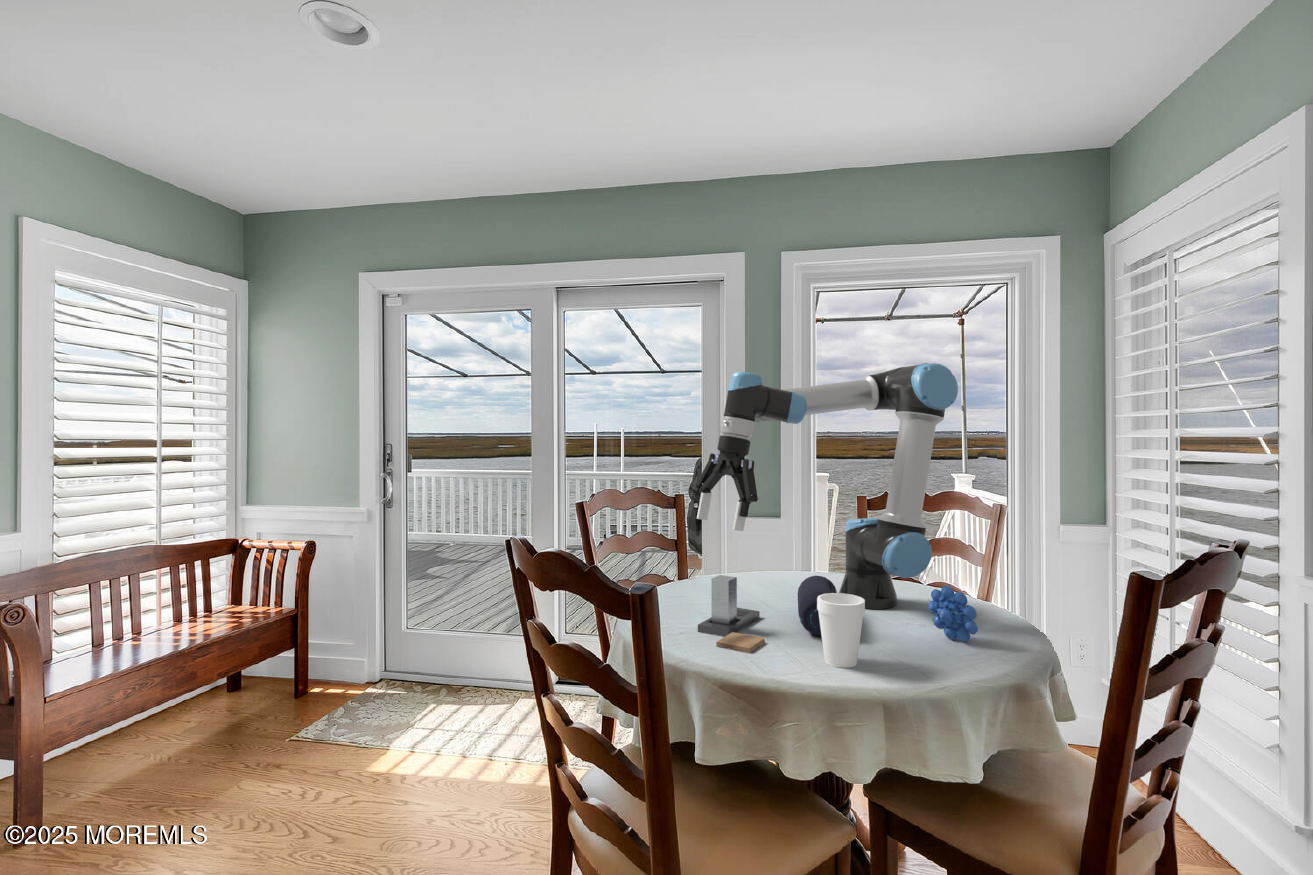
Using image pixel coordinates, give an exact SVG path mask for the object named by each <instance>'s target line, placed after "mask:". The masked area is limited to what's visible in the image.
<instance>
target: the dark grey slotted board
mask: <svg viewBox="0 0 1313 875" xmlns="http://www.w3.org/2000/svg"><path fill="white" fill-rule="evenodd" d="M760 615H761V614H760V610H754V609H747V608H742V607H737V623H735V624H733V625H732V626H726V625H720V624H714V623H712V616H711V617H709V618H708V619H705V620H704V621H701V622H700V623H698V624H697V632H698V633H703V632H706V633H705V634H709V633H711V634H710V635H714V634H716V635H715V636H719V635H722V636H721V637H725V636H727V635H728V634H730V633H732V632H736V633H738V632H739V631H740V629H741V630H743V629H744V628H746V627H747V626H748V625H750V624H751V623H754V622H755V621H757V620H758V619H759V618H760V617H761V616H760ZM743 627H744V628H743Z"/></svg>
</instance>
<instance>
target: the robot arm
mask: <svg viewBox="0 0 1313 875" xmlns="http://www.w3.org/2000/svg"><path fill="white" fill-rule="evenodd" d="M958 386H959V385H958V382H957V378H956V376H955V375H954V374H953V373H952V371H951V370H950V369H949V368H948V367H947V366H945V365H943V364H942V363H936V362H935V363H934V362H933V363H932V362H931V363H928V362H927V363H926V362H925V363H920V364H914V365H909V366H902V367H897V368H893V369H889V370H886V371H883V372H878V373H875V374H868V375H863V377H862V378H861V379H858V380H851V381H844V382H843V381H842V382H833V383H826V384H818V385H811V386H804V387H801V386H800V387H795V388H787V389H779V388H774V387H769V386H765V385H763V377H762V376H761V375H759V374H756V373H752V372H747V371H746V372H745V371H736V372H734V373H732V375H731V377H730V380H729V385H728V388H727V395H726V400H725V407H724V413H723V417H722V422H721V427H720V433H721V434H722V435H721V434H720V436H719V438H718V442H717V450H718V452H719V454H717V453H712V452H711V453H710V454H709V457H708V461H707V463H706V465H705V467H704V469H703V470H702V473H701V474H700V476H699V478H698V479H697V482H696V484H695V489H698V490H699V499H698V509H697V515H696V520H697V519H698V520H704V521H707V520H708V515H709V511H710V505H711V501H712V490H713V489H714V487H715V486H716V485H717V484H718V483H719V481H720V480H721V479H722V478H723V477H724V476H730V477H731V478H732V479H733V482H734V485H735V488H736V491H737V494H738V498H739V500H738V501H737V503H736V508H735V513H734V518H733V519H734V520H733V524H732V530H733V531H738V532H739V531H740V532H743V531H744V529H745V524H746V519H747V518H748V515H749V511H750V510H749V509H750V505H751V503H754V502H755V503H757V502H758V500H759V496H758V492H757V491H758V490H757V482H756V478H755V471H754V470H755V460H753V459H748V458H747V459H746V456H748V455H749V454H750V453H749V452H750V447H751V440H750V439H751V438H753V431H754V426H755V423H758V422H759V423H760V422H783V423H785V424H792V425H797V424H801V422H803V419H804V418H805V416H810V415H819V414H826V413H833V412H841V411H849V410H850V411H851V410H856V409H858V410H859V409H865V410H867V411H876V410H883V411H884V410H888V411H889V410H890V411H895V412H894V414H895V415H896V417H897V418H898V420H899V426H898V433H897V439H896V444H895V445H896V446H895V450H894V458H893V464H892V470H891V475H890V481H889V488H888V494H887V499H886V505H885V506H886V507H885V512H884V513H883V514H882V515H880V516H878V517H873V518H870V517H869V518H865V517H864V518H850V519H848V520H847V521H846V524H845V531H844V534H845V574H844V576H843V580H842V581H841V586H840V587H839V588H840V589H839V591H838V592H839V593H844V594H851V595H855V596H859V597H861V598H863V599H864V600H865V609H871V610H880V609H881V610H883V609H891V608H894V607H896V606H897V605H898V594H897V592H896V590H895V586H894V583H893V580H892V577H898V578H903V579H910V578H915V577H918V576H919V575H921V573H923V572H924V571H925V570H926V569H927V568H928V566H929V565H930V563H931V560H932V556H933V550H932V544H930V543H929V539H928V538H927V537H925V536H926V530H927V526H926V524H925V523H924V522H923V520H922V514H923V508H924V502H925V498H926V497H925V494H926V489H927V483H928V476H929V470H930V465H931V459H932V458H931V457H932V452H933V448H934V446H933V445H934V438H935V434H936V427H937V426H938V425H939V423H941V422H943V421H944V418H945V412H946V409H948V408H949V407H951V406H952V405H953V404H954V403H955V402H956V400H957V398H958V394H959V387H958ZM891 576H892V577H891Z"/></svg>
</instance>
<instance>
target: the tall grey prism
mask: <svg viewBox="0 0 1313 875" xmlns="http://www.w3.org/2000/svg"><path fill="white" fill-rule="evenodd" d="M737 580H738V578H737V576H730V575H722V574H718V575H716V576H715V577H712V578H711V617H712V623H714V624H720V625H726V626H732V625H733V624H735V623H737V608H738V606H737V604H738V592H737V591H738V589H737V588H738V581H737Z"/></svg>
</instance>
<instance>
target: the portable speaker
mask: <svg viewBox="0 0 1313 875" xmlns="http://www.w3.org/2000/svg"><path fill="white" fill-rule="evenodd" d="M828 593H838V590H837V588H836V586H835V584H834V583H833V582H832V581H831V580H830V579H828V578H827V577H825V576H822V575H812V576H808V577H806V578H805V579H804V580H803V581H802V582H801V583H800V585H799V587H798V589H797V610H798V618H799V621H800V623H801V625H802V626H803V628H804V629H805V631H807V632H809V633H810V634H811V635H814V636H821V637H822V635H821V628H820V620H819V612H818V610H817V598H818V596H819V595H822V594H828Z"/></svg>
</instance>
